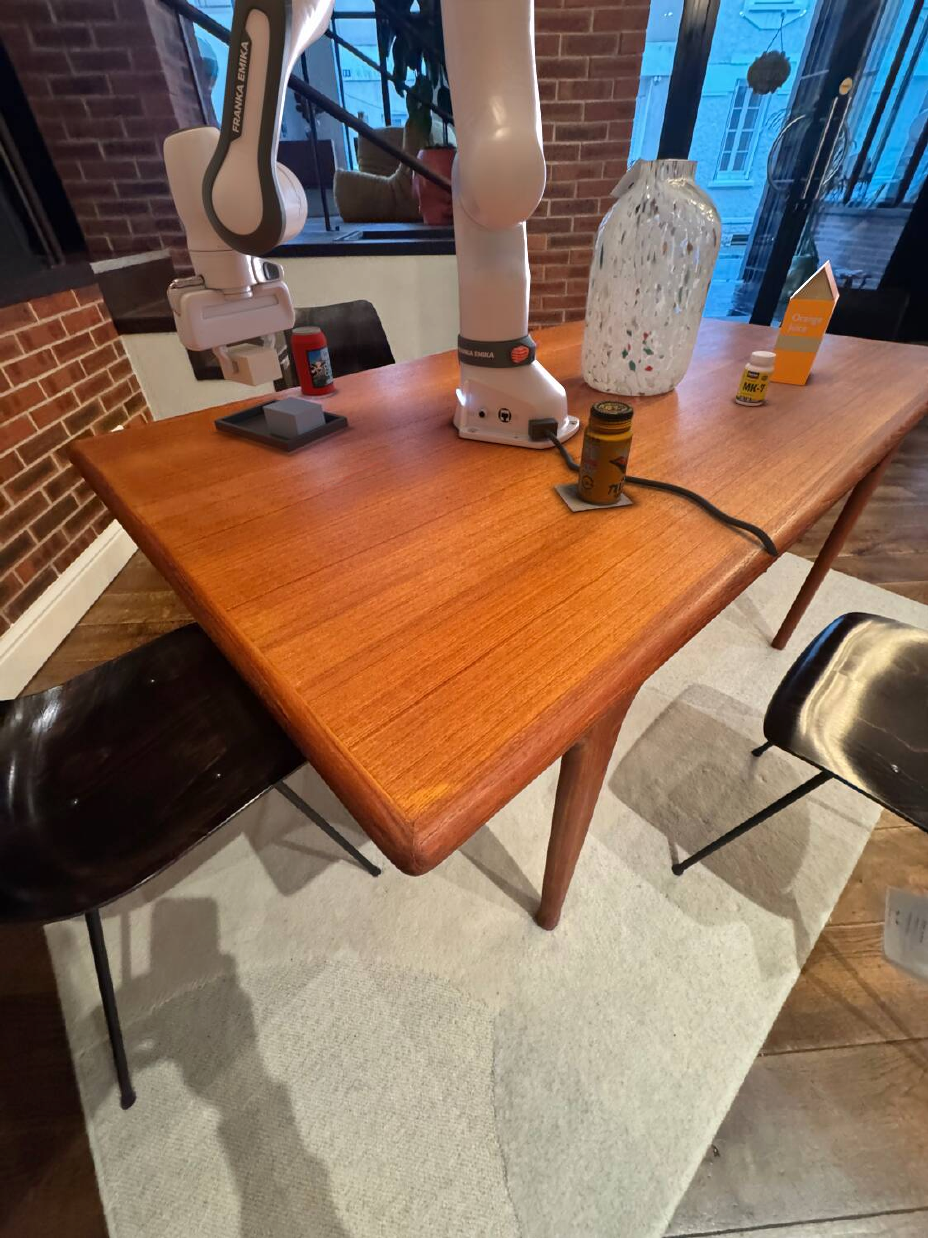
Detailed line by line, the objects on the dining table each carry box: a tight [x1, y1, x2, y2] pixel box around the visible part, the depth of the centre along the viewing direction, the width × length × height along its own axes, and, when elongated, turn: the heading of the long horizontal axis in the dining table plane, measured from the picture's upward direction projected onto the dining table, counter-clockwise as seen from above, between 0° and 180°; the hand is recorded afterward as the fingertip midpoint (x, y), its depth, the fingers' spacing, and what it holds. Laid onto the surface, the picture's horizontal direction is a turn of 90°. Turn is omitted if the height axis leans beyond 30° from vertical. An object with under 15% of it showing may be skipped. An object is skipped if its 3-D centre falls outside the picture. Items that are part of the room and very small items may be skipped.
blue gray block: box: [263, 396, 325, 439], centre depth 90 cm, size 8×6×4 cm
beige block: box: [218, 343, 283, 387], centre depth 89 cm, size 8×6×4 cm
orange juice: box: [770, 259, 840, 386], centre depth 103 cm, size 8×9×20 cm
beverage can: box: [290, 326, 335, 397], centre depth 105 cm, size 7×7×12 cm
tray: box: [213, 398, 349, 453], centre depth 93 cm, size 20×14×2 cm
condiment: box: [554, 400, 635, 513], centre depth 68 cm, size 7×8×12 cm
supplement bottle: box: [734, 350, 776, 407], centre depth 95 cm, size 5×5×8 cm
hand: (251, 368), depth 89 cm, fingers closed on beige block, 6 cm apart
